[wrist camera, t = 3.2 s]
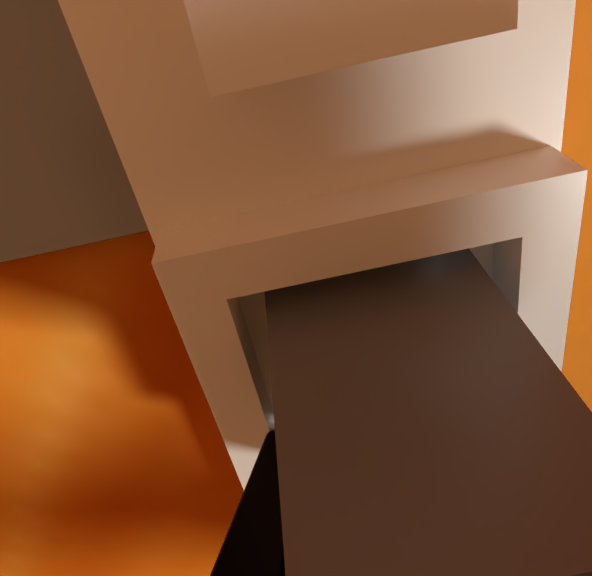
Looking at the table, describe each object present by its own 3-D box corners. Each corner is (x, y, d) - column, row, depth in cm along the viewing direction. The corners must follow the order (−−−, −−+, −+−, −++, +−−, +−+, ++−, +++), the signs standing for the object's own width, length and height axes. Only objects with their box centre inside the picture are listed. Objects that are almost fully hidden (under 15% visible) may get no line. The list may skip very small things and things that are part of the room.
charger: (469, 393, 12) (636, 722, 7) (301, 427, 12) (347, 774, 7) (468, 247, 10) (710, 572, 5) (264, 291, 10) (291, 652, 5)
